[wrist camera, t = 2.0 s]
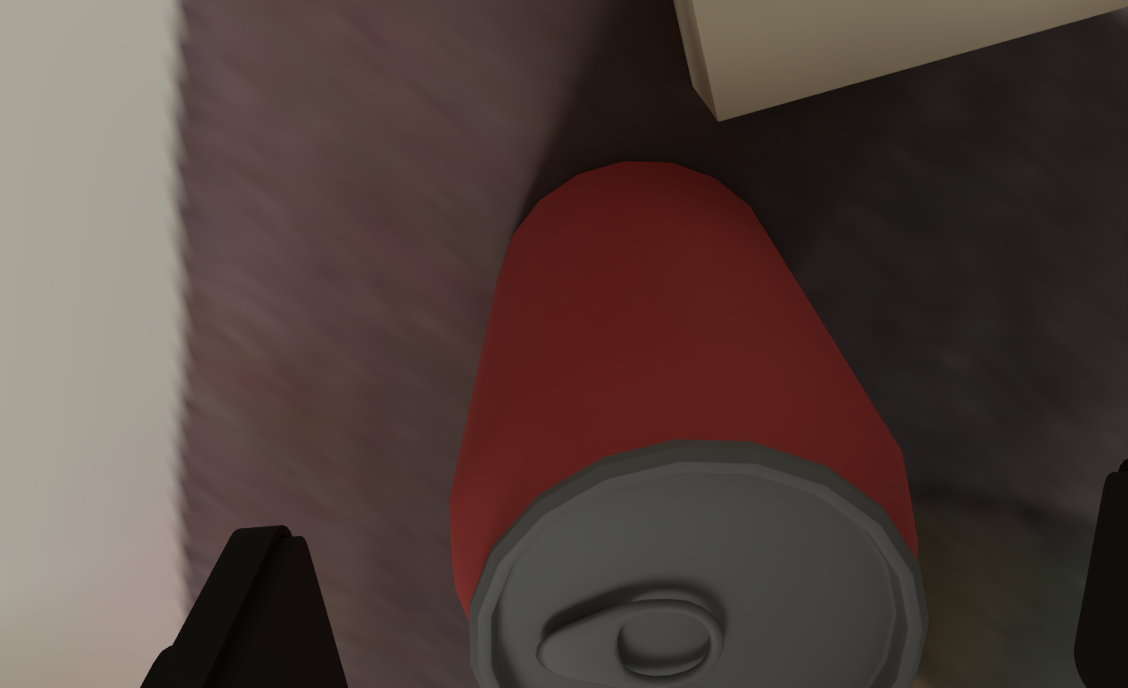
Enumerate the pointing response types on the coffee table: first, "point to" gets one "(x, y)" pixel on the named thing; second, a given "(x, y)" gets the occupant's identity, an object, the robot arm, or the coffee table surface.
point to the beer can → (674, 461)
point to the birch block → (843, 41)
